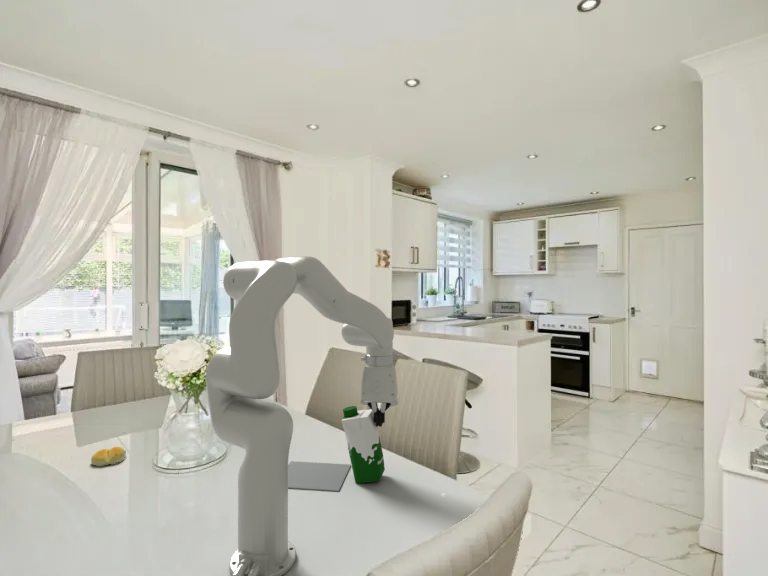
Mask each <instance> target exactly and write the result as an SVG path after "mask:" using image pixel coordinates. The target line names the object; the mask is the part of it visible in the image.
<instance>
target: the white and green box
mask: <svg viewBox="0 0 768 576" xmlns="http://www.w3.org/2000/svg"><path fill="white" fill-rule="evenodd" d="M342 411H343V413H342V414H343V418H342V419H341V424H342V428H343V430H344V434H345V438H346V445H347V451H348V454H349V459H350V463H351V464H350V465H351V468H352V472H353V477H354V481H355V482H354V483H355V484H362V483H371V482H372V483H373V482H378V481H381V480H382V476H383V474H384V472H385V460H384V453H383V448H382V444H381V443H382V442H381V437H380V433H379V428H378V427H376V423H374V412H373V411H372V409H371V408H370V409H362V410H358V408H357V406H356V405H353V406H348V407H345V408H343V409H342Z"/></svg>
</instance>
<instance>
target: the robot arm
mask: <svg viewBox="0 0 768 576" xmlns="http://www.w3.org/2000/svg"><path fill="white" fill-rule="evenodd" d="M222 281H223V282H222V283H223V289H224V290H225V292H226V294H227V295H228V296H229V298H231V299H233V300H234V301H236V304H235V307H234V309H233V310H232V312H231V316H230V318H229V319H230V320H229V323H228V324H229V325H228V326H229V327H228V333H229V334H228V335H229V346H226V347H223V348H221V349H219V350H218V351H216V352H215V353H214V354H213V355H212V356H211V358H210V360H209V362H208V364H207V367H206V369H205V370H206V372H205V385H206V395H207V400H208V407H209V413H210V421H211V426H212V428H213V429H212V430H213V431H214V433H215V435H216V436H217V437H218V439H220V440H221V441H223V442H226V443H227V444H230V445H233V446H236V447H239V448H241V449H244V450H245V456H244V459H243V460H242V463H241V465H240V467H239V471H238V476H237V497H238V498H237V513H238V514H237V550H235V552H234V553H233V554H232V555H231V557H230V559H229V572H230V574H231V576H283V575H285V574H286V573H287V572H288V571H289V570H291V568H292V567H293V566H294V565H295V561H296V558H297V557H296V555H297V554H296V547H295V545H294V544H293V543H292V541H290V540H289V488H288V465H289V459H290V458H289V455H290V449H291V448H290V447H291V443H292V439H293V432H294V421H293V418H292V415H291V413H290V412H289V411H288V410H287V409H286V408H284V407H283V406H281V405H279V404H277V403H274V402H270V401H266V400H264V399H268V398H270V397H271V396H273V395H274V394H275V393H276V392H277V390H278V388H279V386H280V381H281V380H280V379H281V374H280V373H281V371H280V363H279V357H278V355H279V353H278V347H277V340H276V339H277V337H276V336H277V335H276V322H277V319H278V315H279V313H280V311H281V310H282V308H283V306H284V305H285V304H286V302H287V301H288V300H289V299H290V298H291V296H292V295H293V294H298V295H299V296H301V297H303V299H305V301H307V302H308V303H309V305H311V306H312V307H313V308H314V309H315V310H316V311H317V312H318V313H320V314H321V316H323V317H324V318H325V319H329V320H331V321H333V322H337V323H340V324H343V325H342V328H341V338H343V339H342V340H344V342H345V343H347V344H349V345H351V346H355V347H365V349H366V353H365V355H364V356H363V355H361V357H360V359H361V360H360V361H361V362H364V363H365V364H364V365H363V366H362V372H361V381H360V404H362V405H365V406H368V407H369V408H370V409H372V411H373V412H374V423H376V427H377V428H378V427H379V428H382V426H383V424H385V422H386V411H387V410H388V409H389V408H390V407H394V406H397V405H399V399H398V377H397V370H396V369H397V368H396V366H395V364H393V361H394V360H393V352H394V351H393V350H394V349H393V348H394V346H393V343H394V342H393V341H394V337H395V329H394V326H393V324H394V323H393V319H392V318H389V317H387V315H386V314H385V313H384V312H383V311H382V310H381V309H380V308H379V307H378V306H376V305H375V304H373V303H371V302H370V301H367V300H365V299H363V298H362V297H360V296H358V295H357V294H355V293H352V292H350V291H348V290H347V289H346V287H345V286H344V285H343V284H342V283H341V282H340V281H339V280H338V279H337V278H336V276H335V275H334V274H333V273H332V272H331V271H330V270H329V269H328V267H326V265H325V264H323V263H322V261H321V260H320V259H318V258H316V257H313V256H309V255H305V256H292V257H291V256H288V257H287V256H286V257H279V258H271V259H265V260H253V261H242V262H236V263H234V264H232V265H231V266H230V267H229V268H228V269H227V270H226V272H225V274H224V277H223V280H222ZM379 403H380V404H381V407H380V408H379V405H378V404H379Z"/></svg>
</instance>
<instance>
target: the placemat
mask: <svg viewBox="0 0 768 576" xmlns="http://www.w3.org/2000/svg"><path fill="white" fill-rule="evenodd" d="M351 467H352V464H350V463H349V464H346V463H330V462H329V463H328V462H327V463H326V462H324V463H323V462H311V461H309V462H308V461H293V460H292V461H290V463H289V462H288V489H291V490H293V489H294V490H304V491H305V490H306V491H307V490H308V491H310V490H311V491H322V492H323V491H324V492H340V490H341V489H342V486H343V484H344V481H345V479H346V477H347V474H348V473H349V470H350V468H351Z"/></svg>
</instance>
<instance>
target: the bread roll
mask: <svg viewBox="0 0 768 576" xmlns="http://www.w3.org/2000/svg"><path fill="white" fill-rule="evenodd" d="M126 453H127V450H125V449H124V448H123V447H120V446H114V447H111V448H109V449H107V448H103V449H101V450H98V451H96V452H95V453H94V454H93V455H92V457H91V458H90V461H91V465H92V466H95V465H96V466H95V467H104V465H106V466H108V465H109V464H112V465H115V464H114V463H116V464H118V462H119V463H121V462H123V461H124V460H125V459H126V455H127V454H126ZM120 461H121V462H120Z"/></svg>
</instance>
